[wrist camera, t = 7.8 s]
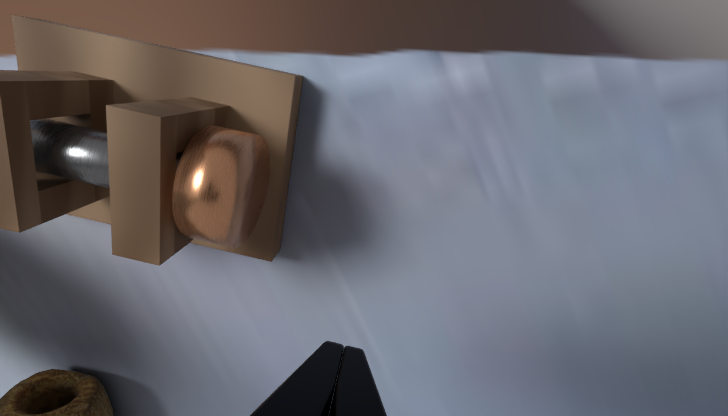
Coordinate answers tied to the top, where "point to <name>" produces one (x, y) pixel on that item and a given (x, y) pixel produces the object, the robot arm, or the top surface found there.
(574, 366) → the top surface
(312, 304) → the top surface
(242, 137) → the shaft
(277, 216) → the bearing stand
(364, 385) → the robot arm
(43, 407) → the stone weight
